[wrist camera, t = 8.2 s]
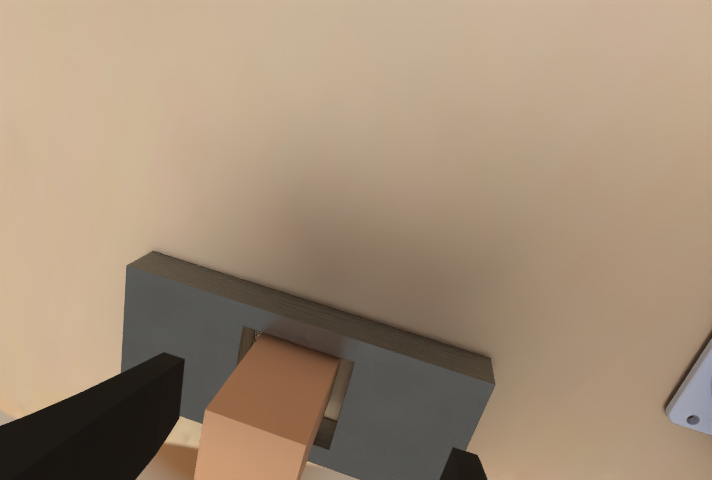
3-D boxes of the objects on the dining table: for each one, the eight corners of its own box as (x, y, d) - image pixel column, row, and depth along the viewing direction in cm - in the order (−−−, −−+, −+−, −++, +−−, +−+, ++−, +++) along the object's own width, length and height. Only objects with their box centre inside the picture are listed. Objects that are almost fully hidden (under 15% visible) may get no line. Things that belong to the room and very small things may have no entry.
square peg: (345, 341, 22) (306, 445, 16) (328, 401, 24) (285, 519, 17) (273, 317, 23) (204, 409, 16) (260, 377, 24) (193, 484, 18)
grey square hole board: (490, 358, 21) (495, 384, 19) (439, 475, 24) (439, 507, 22) (152, 251, 23) (126, 265, 21) (143, 372, 25) (119, 394, 24)
